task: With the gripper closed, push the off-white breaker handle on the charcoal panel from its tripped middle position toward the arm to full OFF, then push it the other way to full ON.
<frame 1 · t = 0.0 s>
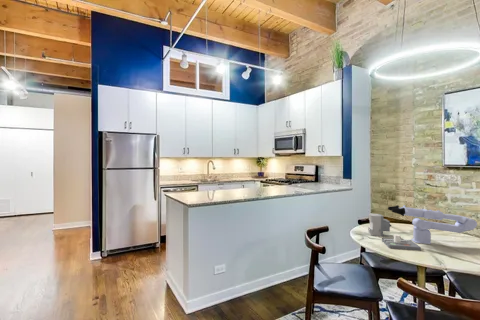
hand: (390, 209, 182), 22 cm above the table, tool horizontal, fingers open, 7 cm apart
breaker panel: (400, 245, 170), on the table
breaker handle: (397, 238, 170), point 5 cm above the table, slide at 0.0 cm
circuit breaker: (379, 235, 193), on the table
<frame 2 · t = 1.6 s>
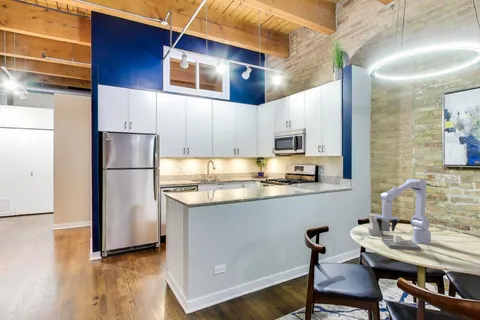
hand: (386, 230, 171), 9 cm above the table, tool pointing down, fingers open, 7 cm apart
nothing on the table moved.
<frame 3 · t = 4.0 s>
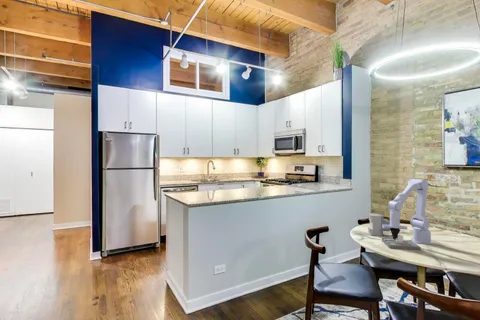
hand: (394, 239, 170), 4 cm above the table, tool pointing down, fingers closed
breaker handle: (399, 238, 170), point 5 cm above the table, slide at -1.4 cm, touching gripper
everything else where it was.
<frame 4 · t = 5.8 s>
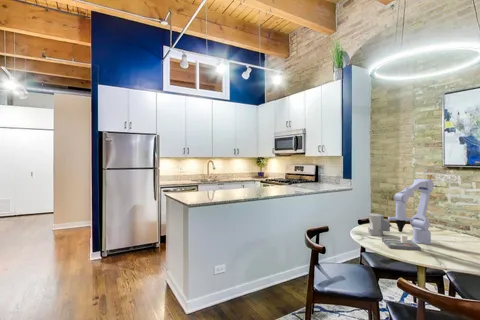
hand: (400, 231, 170), 9 cm above the table, tool pointing down, fingers closed
breaker handle: (403, 238, 169), point 5 cm above the table, slide at -4.1 cm
everything else where it was.
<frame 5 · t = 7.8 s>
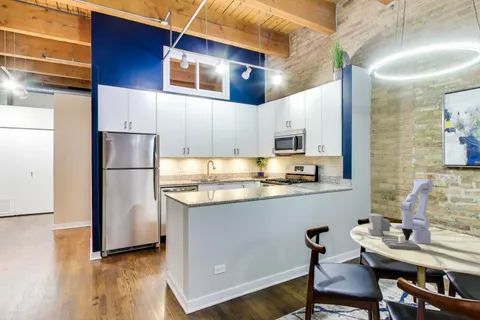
hand: (406, 240, 169), 4 cm above the table, tool pointing down, fingers closed
breaker handle: (401, 238, 169), point 5 cm above the table, slide at -2.8 cm, touching gripper
everything else where it was.
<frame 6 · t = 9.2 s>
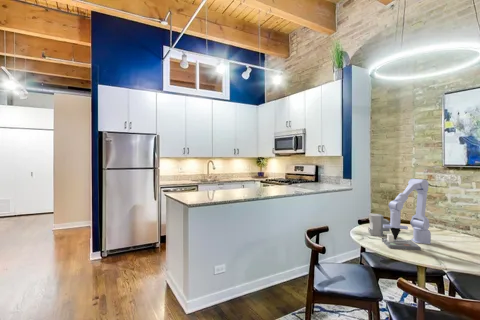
hand: (395, 239, 170), 4 cm above the table, tool pointing down, fingers closed
breaker handle: (390, 238, 171), point 5 cm above the table, slide at 4.1 cm, touching gripper
everything else where it was.
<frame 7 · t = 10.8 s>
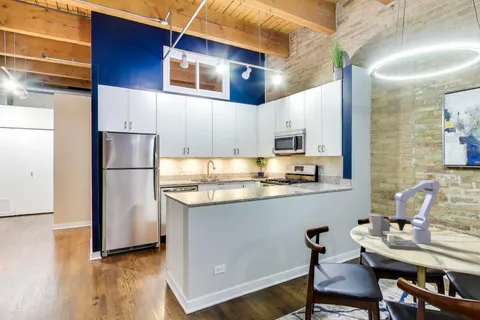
hand: (401, 230, 174), 9 cm above the table, tool pointing down, fingers closed
breaker handle: (390, 238, 171), point 5 cm above the table, slide at 4.1 cm
everything else where it was.
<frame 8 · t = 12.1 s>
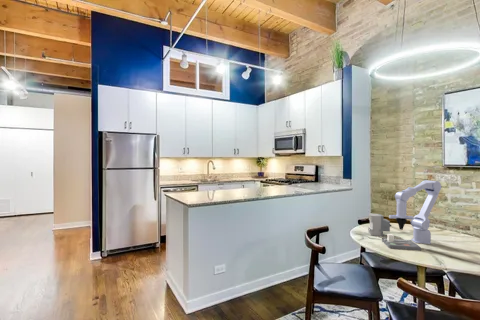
hand: (401, 229, 175), 9 cm above the table, tool pointing down, fingers closed
nothing on the table moved.
at the end: breaker handle slide at 4.1 cm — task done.
